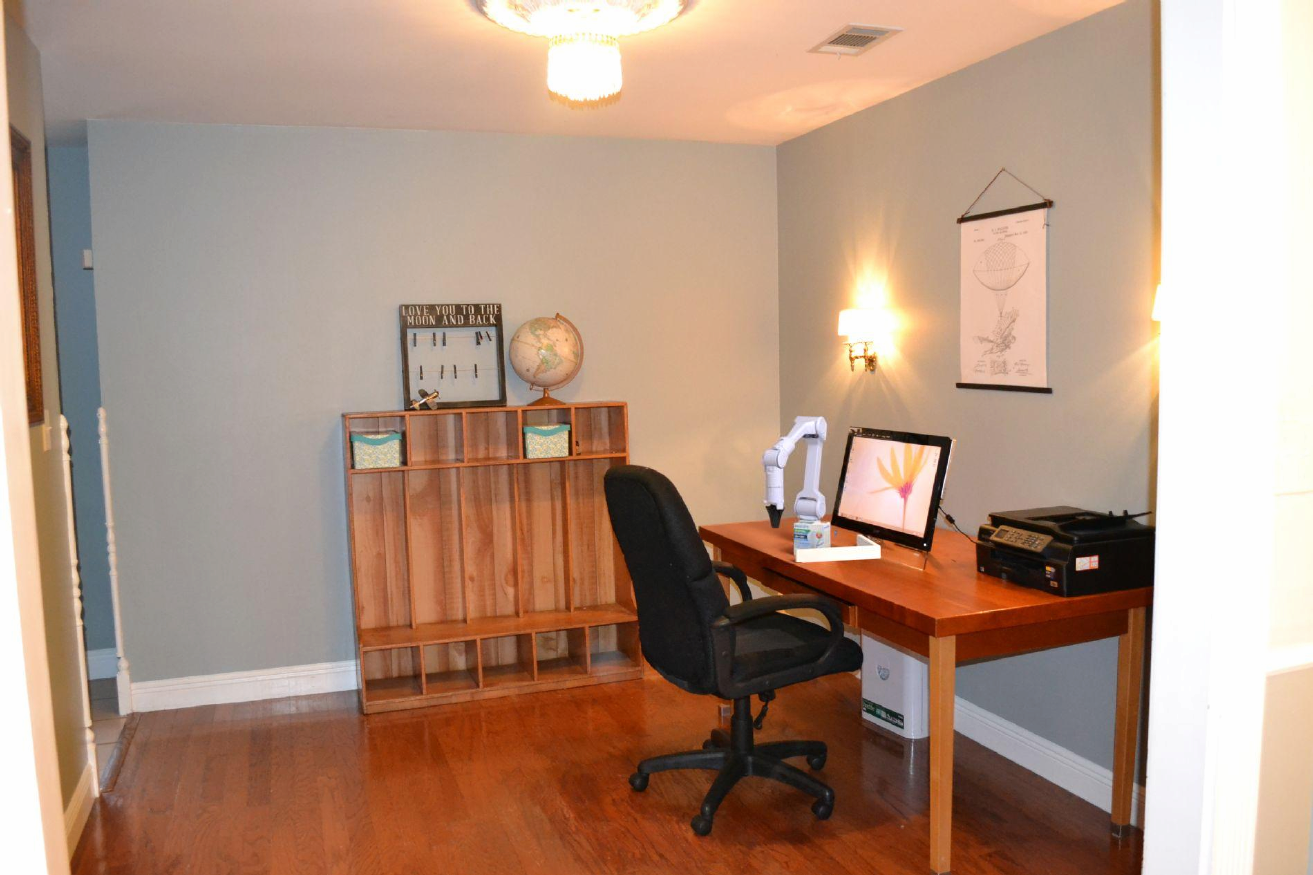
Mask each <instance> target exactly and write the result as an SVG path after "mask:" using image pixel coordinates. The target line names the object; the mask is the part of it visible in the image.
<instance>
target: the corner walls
mask: <svg viewBox="0 0 1313 875" xmlns="http://www.w3.org/2000/svg"><path fill="white" fill-rule="evenodd" d="M794 557H795V558H794V560H795V563H796V562H802V563H815V562H816V563H819V562H835V561H837V562H838V561H853V560H872V559H873V560H874V559H881V558H882V556H881V545H880V544H878V543H876V542H874V541H873V540H871V539H869V538H868V537H866V536H864V535H863V534H856V546H855V545H854V546H837V547H833V546H832V547H830V548H813V549H795V555H794Z"/></svg>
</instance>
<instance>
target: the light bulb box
mask: <svg viewBox="0 0 1313 875" xmlns="http://www.w3.org/2000/svg"><path fill="white" fill-rule="evenodd" d="M813 548H831V521H821V522H819V521H804V520H800V521H799V520H798V521H796V522H793V556H795V549H813Z"/></svg>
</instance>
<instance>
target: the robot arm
mask: <svg viewBox="0 0 1313 875" xmlns="http://www.w3.org/2000/svg"><path fill="white" fill-rule="evenodd" d="M792 424H793V427H792V428H791V430H790V431H789V432H788V434H787V435H786V436H781V437H780V438H779V440H778V441H777V442H776V443H775V444H774V445H773V447H771V448H770V449H767V450H766V451H764V452H763V453H762V456H761V463H762V464H761V465H762V466H763V471H764V473H765V499H762V503H763V504H765V503H766V504H770V505H767V506H764V507H765V510H766V512H767V514H768V517H769V521H770V522H769V523H770V526H771V528H772V529H779V528H780V523H781V519H782V516H783V514H784V511H785V509H786V508H785V506H784V504H785V499H784V498H785V497H784V496H785V495H784V493H785V492H784V467H786V466H787V461H788V459H789V456H790V455H791V454H792V453H793V451H794V450H795V448H796V443H797V442H798V441H799V440H800V439H801V440H802V441H804V442H806V444H807V448H806V457H805V468H804V470H805V471H804V480H803V489H802V490H801V491H799V492H798V493H797V494H796V498H795V501H794V504H793V513H794V515H795V516H796V517H797V519H798V521H800V520H804V521H819V522H822V521H821V519H823V517H824V516H825V515H826V511H827V510H826V509H827V507H826V506H827V505H826V496H825V495H824V494H822V492H820V491H819V486H820V477H821V470H822V469H821V467H822V457H823V446H824V445H823V444H824V442H826V440H827V432H828V431H827V429H828V423H827V422H826V419H825V418H824V417H823V416H806V415H805V416H802V415H797V417H796V418H795V419H794V420H793V423H792Z"/></svg>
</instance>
